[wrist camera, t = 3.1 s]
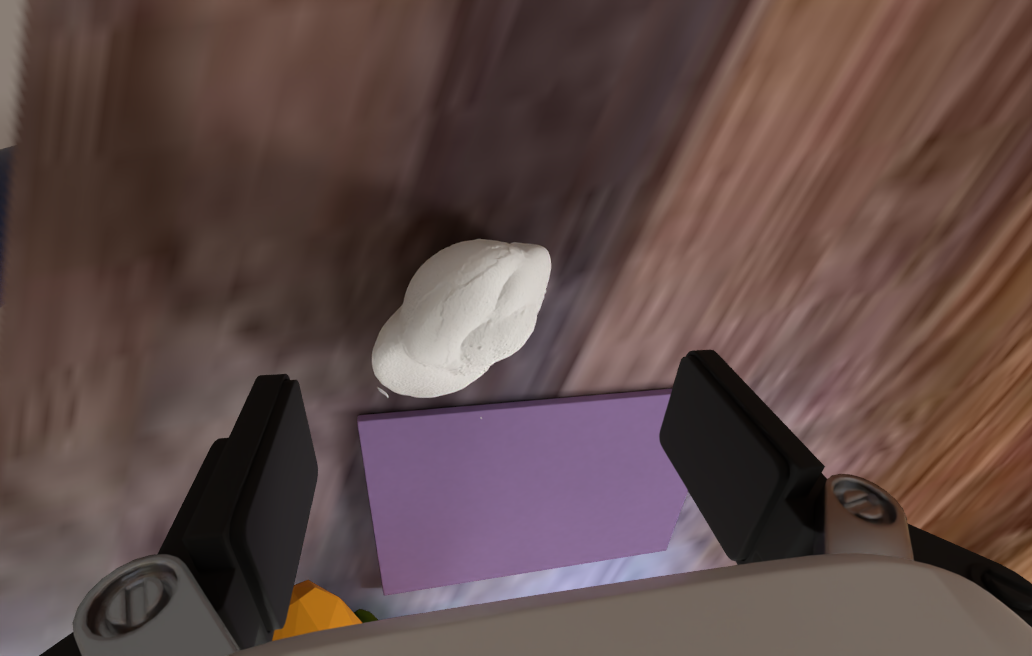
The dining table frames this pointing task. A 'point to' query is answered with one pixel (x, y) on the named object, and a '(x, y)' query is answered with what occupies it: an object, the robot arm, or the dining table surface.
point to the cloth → (517, 487)
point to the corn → (317, 612)
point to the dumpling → (461, 316)
